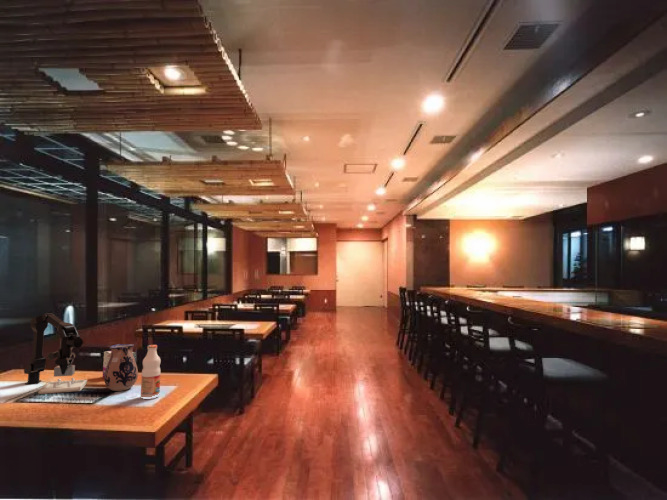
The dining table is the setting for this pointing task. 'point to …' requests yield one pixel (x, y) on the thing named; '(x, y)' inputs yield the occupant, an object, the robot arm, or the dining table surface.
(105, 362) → the candy bar box
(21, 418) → the dining table surface
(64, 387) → the tray
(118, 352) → the ceramic pitcher
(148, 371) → the fruit juice
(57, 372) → the grey rectangular block
